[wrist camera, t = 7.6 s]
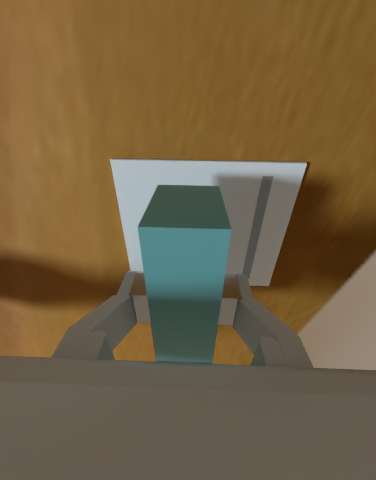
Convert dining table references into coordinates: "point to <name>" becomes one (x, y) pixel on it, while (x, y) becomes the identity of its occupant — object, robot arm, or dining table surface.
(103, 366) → the robot arm
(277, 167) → the sketch sheet
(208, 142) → the dining table surface
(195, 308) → the teal rectangular block
